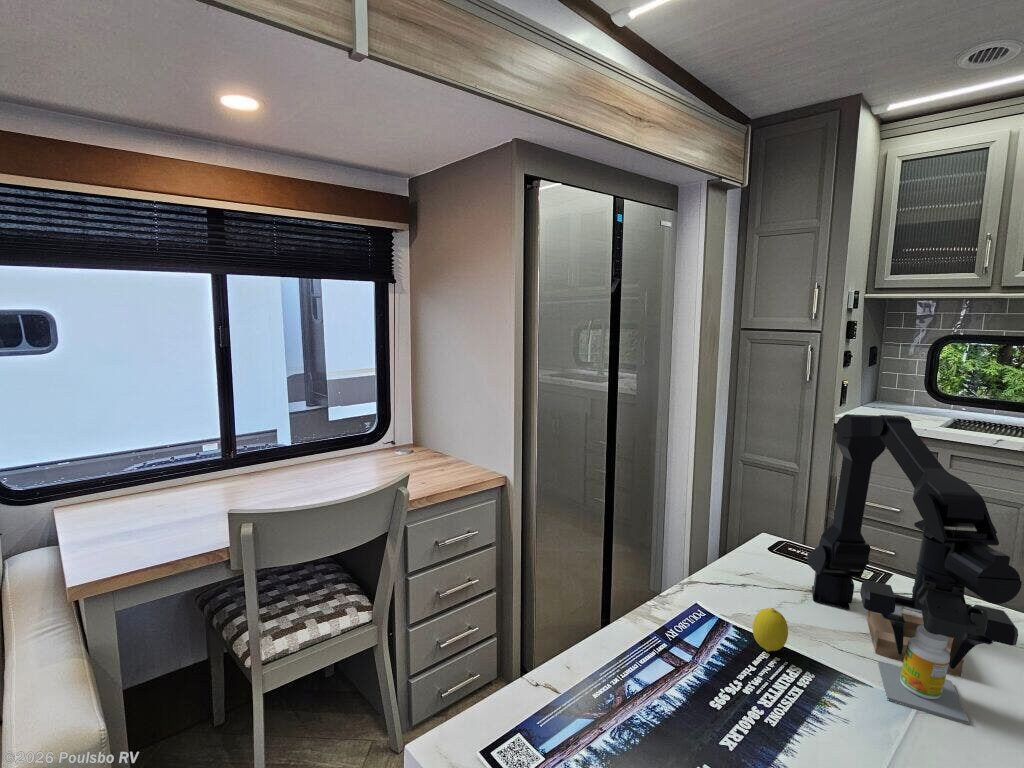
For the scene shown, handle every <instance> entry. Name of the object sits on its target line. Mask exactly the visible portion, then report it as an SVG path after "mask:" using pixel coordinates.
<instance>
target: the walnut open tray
mask: <svg viewBox="0 0 1024 768" xmlns="http://www.w3.org/2000/svg"><path fill="white" fill-rule="evenodd" d="M902 614H903V617H904V620H905V624H904V628H903V629H904V631H903V650H902V655H899V654H898V651H897V647H896V642H895V638H894V633H893V629H892V625H891V622H890V620H887V619H885V618H883V617H882V616H881V614H880V613H876V612H872V611H868V610H867V616H866V617H867V618H866V622H867V625H868V629H869V633H870V637H871V641H872V642H871V643H872V646H873V649H874V650H873V651H874V653H875V654H876V655H880V656H882V657H888V658H891V659H895V660H898V661H902V662H904V657H905V653H906V648H907V644H908V641H909V639H911V638H913V637H915V633H916V629H917V627H918V626H921V625H924V622H923V617H919V616H916V615H911V614H907V613H903V612H902ZM952 642H953V638H951V637H948V645H947V647H946V649H947V650H948V652H949V654H950V651H951V647H952ZM964 662H965V660H964V658H963V659H962V660H961V661H960V662H959V664H958V665H957V666H956V667H955V668H954V669H951V668H950V666H948V670H947V674H949V675H953V676H957V677H962V672H963V667H964Z"/></svg>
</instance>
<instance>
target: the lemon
mask: <svg viewBox="0 0 1024 768" xmlns="http://www.w3.org/2000/svg"><path fill="white" fill-rule="evenodd" d="M752 635H753V638H754V640H755V641H756V643H757V644H758V645H759V646H760V647H761V648H762V649H764V650H765V651H766V652H769V653H770V652H776V651H779V650H781V649H782V648H783V647H784V646H785V645H786V644H787V641H788V637H789V627H788V622H787V620H786V618H785V617H784V615H783V614H782V613H781V612H779V610H776V609H775V608H773V607H770V608H763V609H761V610H760V611H758V612H757V613H756V615H755V617H754V619H753V623H752Z"/></svg>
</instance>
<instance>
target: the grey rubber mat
mask: <svg viewBox="0 0 1024 768" xmlns="http://www.w3.org/2000/svg"><path fill="white" fill-rule="evenodd" d="M877 664H878V669H879V673H880V677H881V682H882V685H883V690H884V689H885V690H884V693H885V692H886V694H885V697H886V696H887V698H886V700H887V699H889V700H891V701H890V702H892V701H894V702H893V703H895V702H897V703H896V704H898V703H901V704H904V705H903V706H905V705H906V707H908V706H910V707H909V708H911V707H913V709H915V710H918V711H922V712H925V713H928V714H932V715H935V716H939V717H941V718H946V719H948V720H952V721H954V722H955V721H956V722H959V723H962V724H965V725H969V723H970V721H969V718H968V716H967V714H966V712H965V710H964V707H963V704H962V702H961V700H960V698H959V696H958V693H957V691H956V689H955V685H953V681H952V680H950V679H946V678H945V683H944V687H943V691H942V694H941V697H940V698H938V699H927V698H923V697H921V696H918V695H916V694H914V693H912V692H911V691H909V690H908V689H907V688H905V687H904V686H903V684H902V683H901V681H900V675H901V670H902V666H899V665H896V664H892V663H888V662H885V661H880V660H878V661H877ZM901 704H900V705H901Z"/></svg>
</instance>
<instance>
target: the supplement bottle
mask: <svg viewBox="0 0 1024 768" xmlns="http://www.w3.org/2000/svg"><path fill="white" fill-rule="evenodd" d="M947 645H948V637H947V636H943V635H935V634H931V633H929V632H928V631H927V630H926V629H925V628H924V625H921V626H918V627H917V629H916V633H915V637H913V638H911V637H910V639H909V641H908V644H907V648H906V653H905V657H904V661H902V666H901V667H902V670H901V675H900V681H901V683H902V684H903V686H904V687H905V688H907V689H908V690H909V691H911V692H912V693H914V694H916V695H918V696H921V697H923V698H927V699H938V698H940V697H941V694H942V691H943V687H944V683H945V679H946V677H947V674H948V673H947V670H948V666H949V662H950V654H949V652H948V650H947V649H946V647H947Z"/></svg>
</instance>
